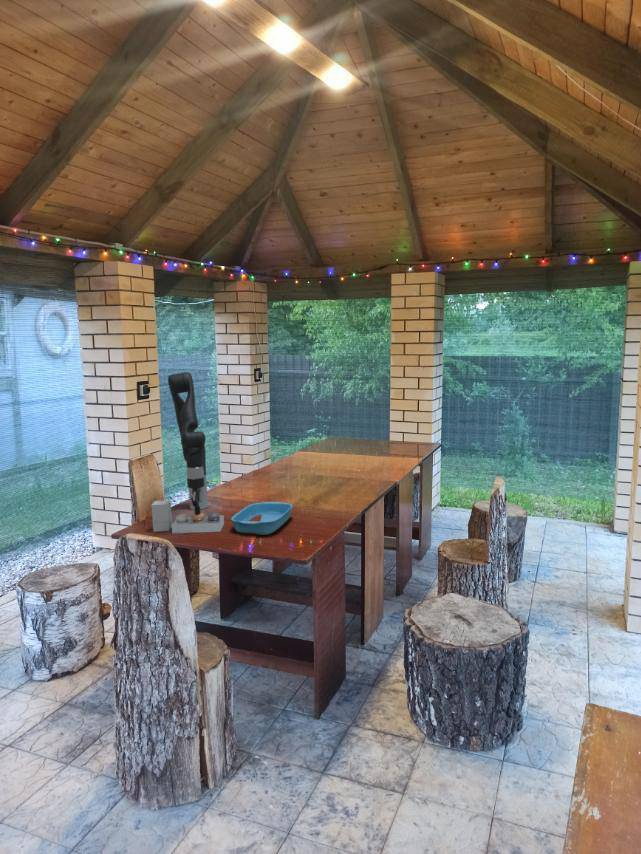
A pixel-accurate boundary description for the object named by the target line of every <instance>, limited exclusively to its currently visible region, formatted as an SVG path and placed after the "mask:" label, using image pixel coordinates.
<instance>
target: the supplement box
mask: <svg viewBox="0 0 641 854" xmlns="http://www.w3.org/2000/svg"><path fill="white" fill-rule="evenodd" d="M171 503H172V501H171V499H167V500H154V501H153V502H152V504H151V505H150V507H151V516H152V519H151V520H152V528H153V529H152V530H153V532H154V533H155V532H156V533H157V532H169V531H170V530H171V529H172V523H173V514H172V504H171Z"/></svg>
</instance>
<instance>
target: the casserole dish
mask: <svg viewBox="0 0 641 854" xmlns="http://www.w3.org/2000/svg"><path fill="white" fill-rule="evenodd" d="M292 509H293V504H292V503H287V502H286V503H285V502H280V501H266V502H265V501H264V502H255V503H251V504H249V505H247V506H245V507H244V508H243V509H241V510H240V511H238V512H237V513H235V514H234V515H233V516H232V517H231V519H230V520H231V521H232V524H233V527H234V529H235V531H236V532H238V533H240V534H241V533H243V534H256V536H257V535H260V536H267V535H271V534H273V533H275V532H276V531H277V530H278V529H280V528H281V526H283V525H284V524H285V523H286V522H287V521H288V520H289V519H290V516H291V514H292ZM257 516H261V517H260V521H253V520H251V519H253V518H255V517H257ZM250 520H251V521H250Z"/></svg>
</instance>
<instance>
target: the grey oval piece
mask: <svg viewBox="0 0 641 854" xmlns="http://www.w3.org/2000/svg"><path fill="white" fill-rule="evenodd" d="M188 516H189V514H188V513H181V514H177V515H175V517H176V518H175V520H176V519H177V521H178V522H184V521H187V520H188Z"/></svg>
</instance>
